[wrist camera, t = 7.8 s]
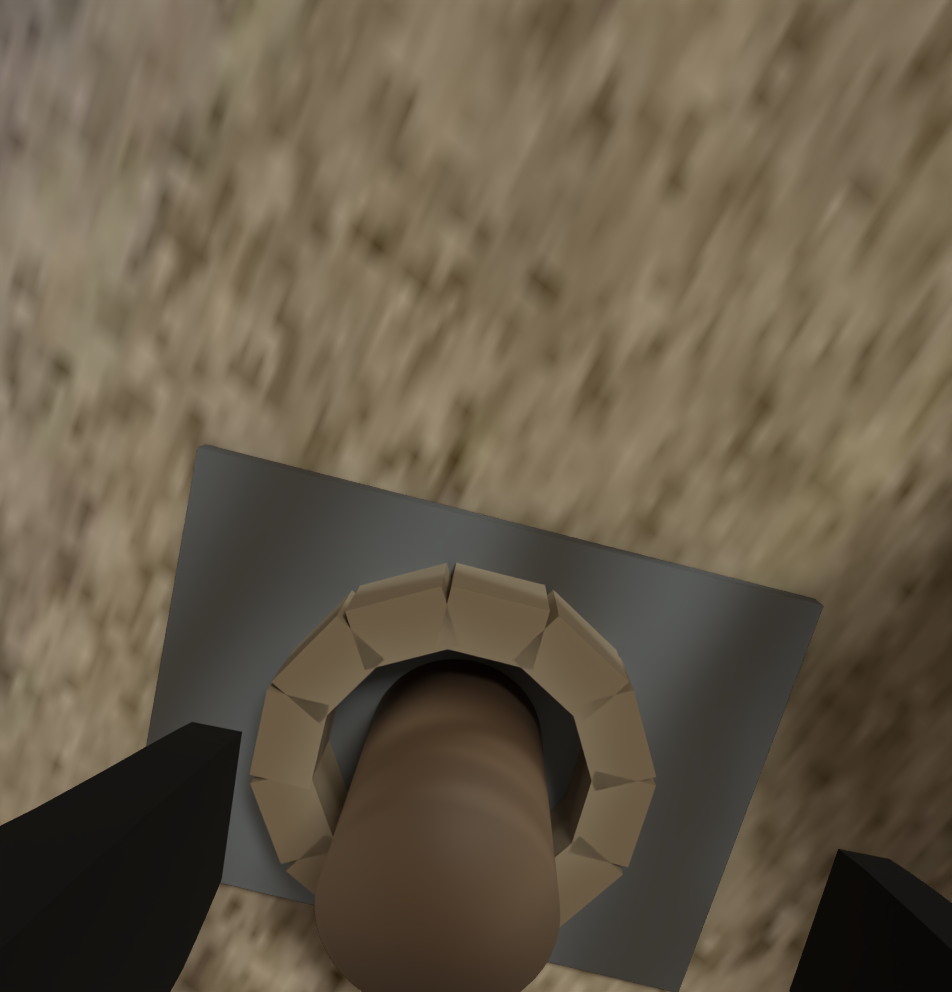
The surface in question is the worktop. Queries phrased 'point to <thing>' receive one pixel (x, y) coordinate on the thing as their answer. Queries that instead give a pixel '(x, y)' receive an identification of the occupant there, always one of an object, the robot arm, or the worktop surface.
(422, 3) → the worktop surface
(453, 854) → the walnut peg
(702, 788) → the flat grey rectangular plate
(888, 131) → the worktop surface
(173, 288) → the worktop surface
